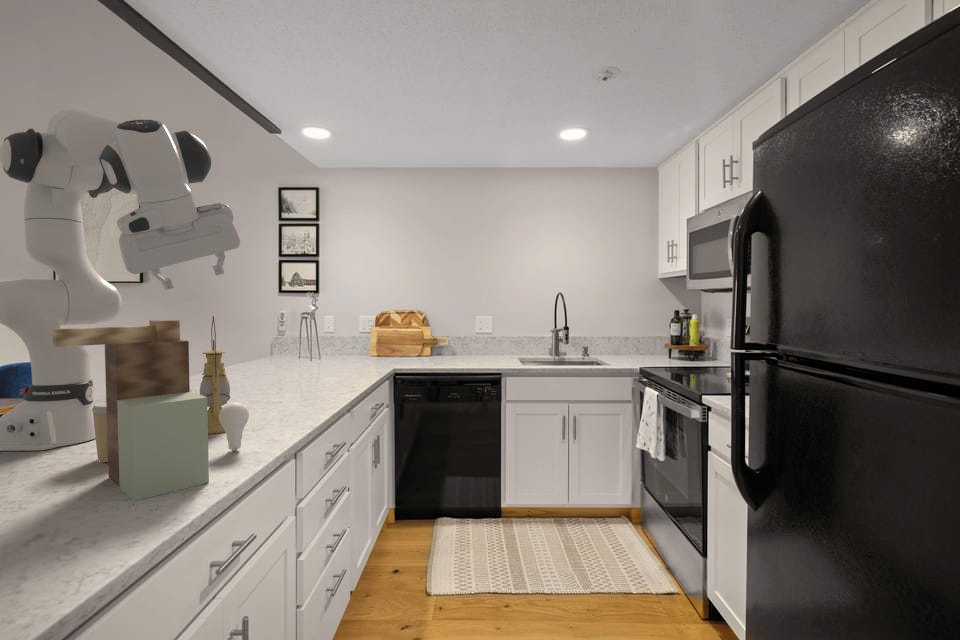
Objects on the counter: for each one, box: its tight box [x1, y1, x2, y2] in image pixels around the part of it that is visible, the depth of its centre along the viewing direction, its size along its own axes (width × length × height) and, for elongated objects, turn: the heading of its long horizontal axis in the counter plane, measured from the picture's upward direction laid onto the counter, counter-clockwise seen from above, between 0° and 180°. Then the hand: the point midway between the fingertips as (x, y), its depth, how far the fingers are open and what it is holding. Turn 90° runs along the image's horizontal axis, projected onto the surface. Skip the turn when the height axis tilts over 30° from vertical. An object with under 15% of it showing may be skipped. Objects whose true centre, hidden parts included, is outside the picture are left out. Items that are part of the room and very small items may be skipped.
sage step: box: [117, 391, 210, 501], centre depth 95 cm, size 12×9×16 cm
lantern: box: [199, 315, 231, 435], centre depth 136 cm, size 12×10×30 cm
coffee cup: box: [92, 400, 108, 463], centre depth 113 cm, size 9×9×12 cm
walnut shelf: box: [104, 339, 191, 489], centre depth 101 cm, size 12×8×26 cm, turn 137°
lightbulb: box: [219, 401, 250, 452], centre depth 117 cm, size 6×6×11 cm
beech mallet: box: [53, 319, 181, 347], centre depth 97 cm, size 19×4×4 cm, turn 137°
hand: (195, 281), depth 103 cm, fingers open, 8 cm apart
